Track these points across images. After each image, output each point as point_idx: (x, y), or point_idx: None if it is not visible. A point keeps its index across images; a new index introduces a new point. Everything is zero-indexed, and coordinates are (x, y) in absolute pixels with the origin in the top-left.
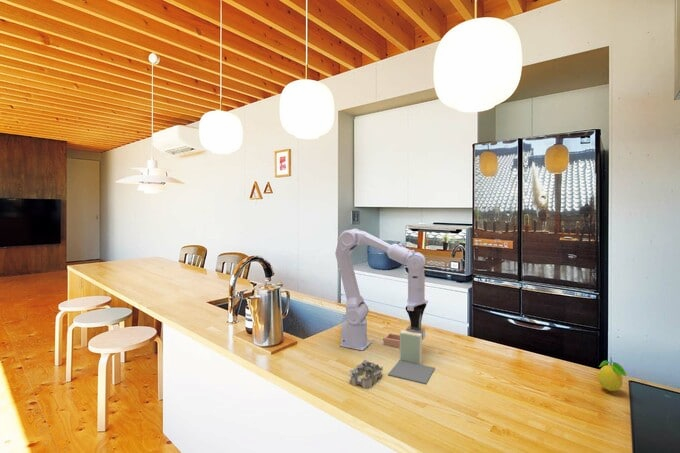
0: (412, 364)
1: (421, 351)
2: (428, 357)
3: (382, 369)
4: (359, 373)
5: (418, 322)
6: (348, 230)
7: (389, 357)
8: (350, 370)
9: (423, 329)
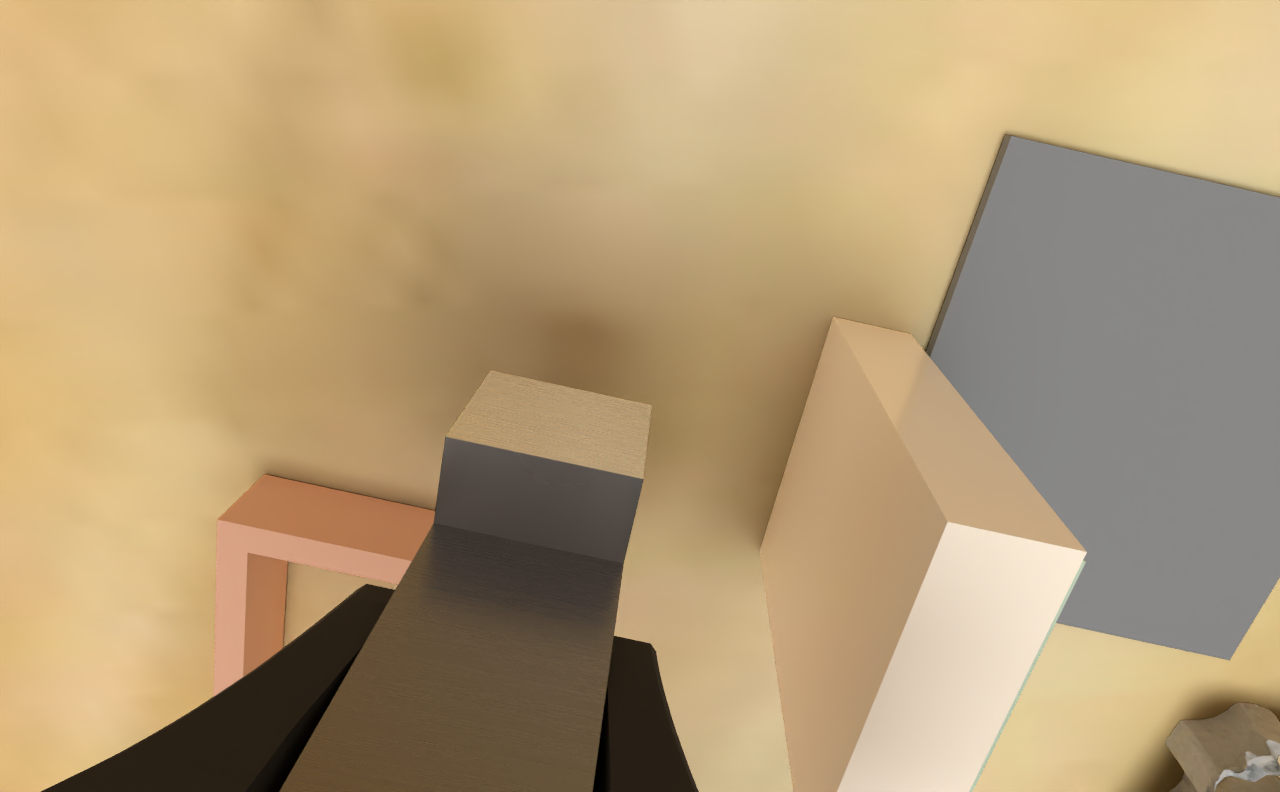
0: None
1: (890, 378)
2: (648, 234)
3: (1267, 747)
4: None
5: (648, 716)
6: None
7: (764, 672)
8: None
9: (511, 474)
